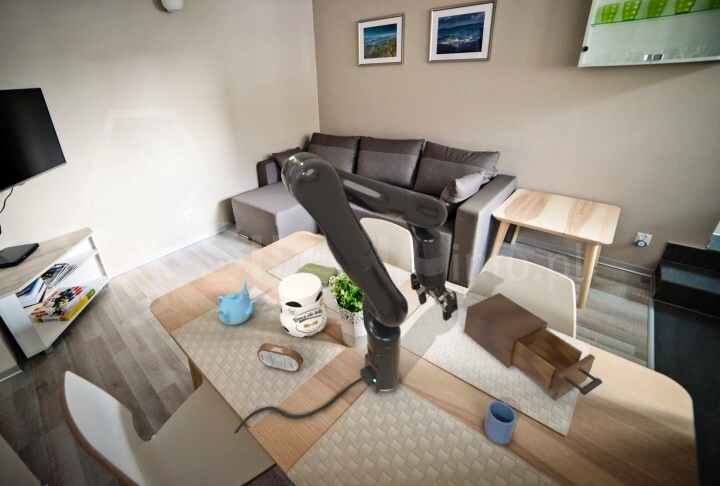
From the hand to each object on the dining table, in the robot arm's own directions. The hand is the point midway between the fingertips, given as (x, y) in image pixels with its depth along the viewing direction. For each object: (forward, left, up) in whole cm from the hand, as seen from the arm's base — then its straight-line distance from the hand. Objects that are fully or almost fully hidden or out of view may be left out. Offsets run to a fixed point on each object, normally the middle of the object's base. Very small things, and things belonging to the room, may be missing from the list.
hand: (434, 310), depth 92 cm
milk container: (-28, +35, -21) cm, 50 cm away
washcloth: (-12, +61, -21) cm, 66 cm away
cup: (0, -24, -21) cm, 32 cm away
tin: (-42, +21, -21) cm, 51 cm away
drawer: (+26, -20, -20) cm, 38 cm away
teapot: (-49, +52, -21) cm, 74 cm away
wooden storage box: (+26, -4, -21) cm, 34 cm away
